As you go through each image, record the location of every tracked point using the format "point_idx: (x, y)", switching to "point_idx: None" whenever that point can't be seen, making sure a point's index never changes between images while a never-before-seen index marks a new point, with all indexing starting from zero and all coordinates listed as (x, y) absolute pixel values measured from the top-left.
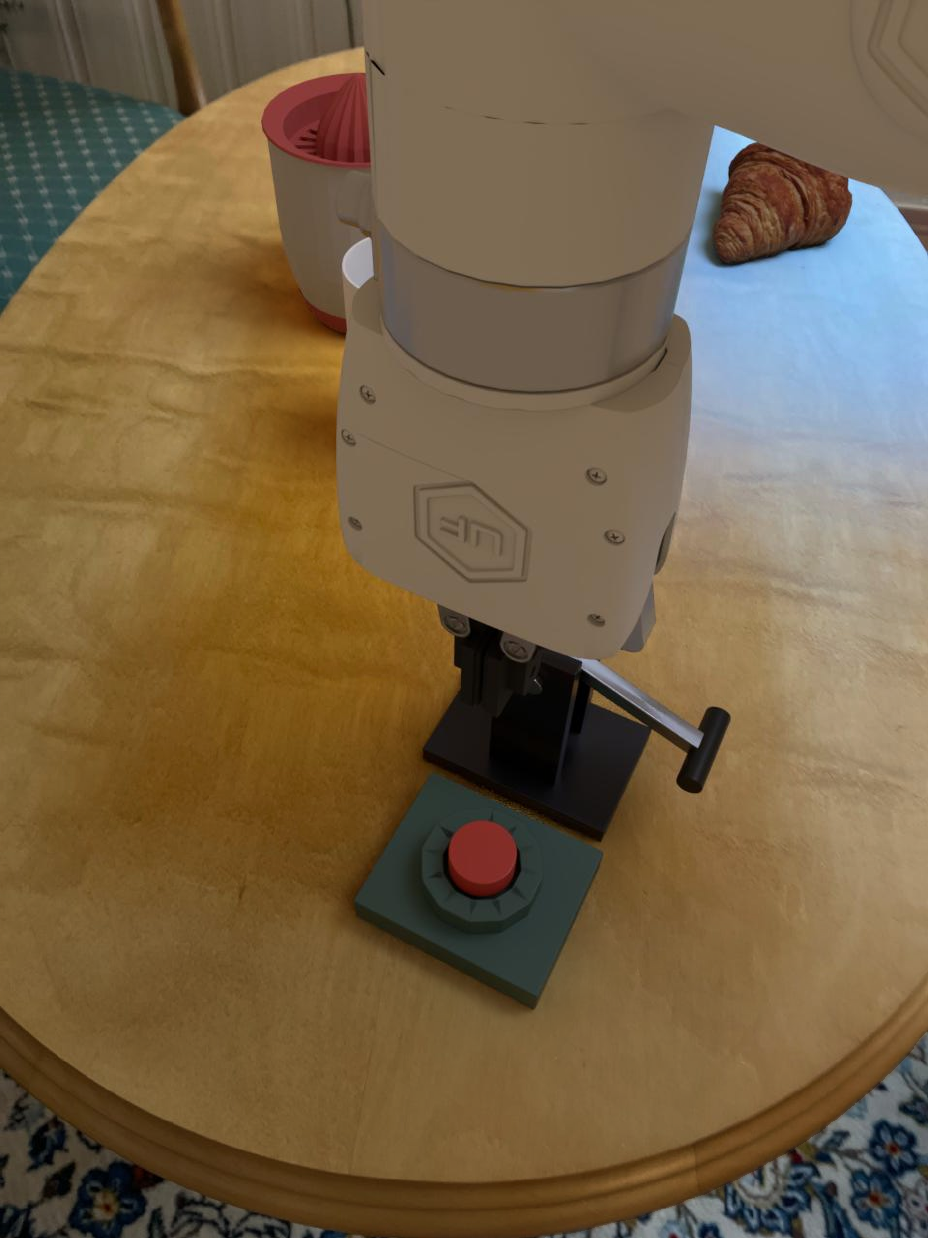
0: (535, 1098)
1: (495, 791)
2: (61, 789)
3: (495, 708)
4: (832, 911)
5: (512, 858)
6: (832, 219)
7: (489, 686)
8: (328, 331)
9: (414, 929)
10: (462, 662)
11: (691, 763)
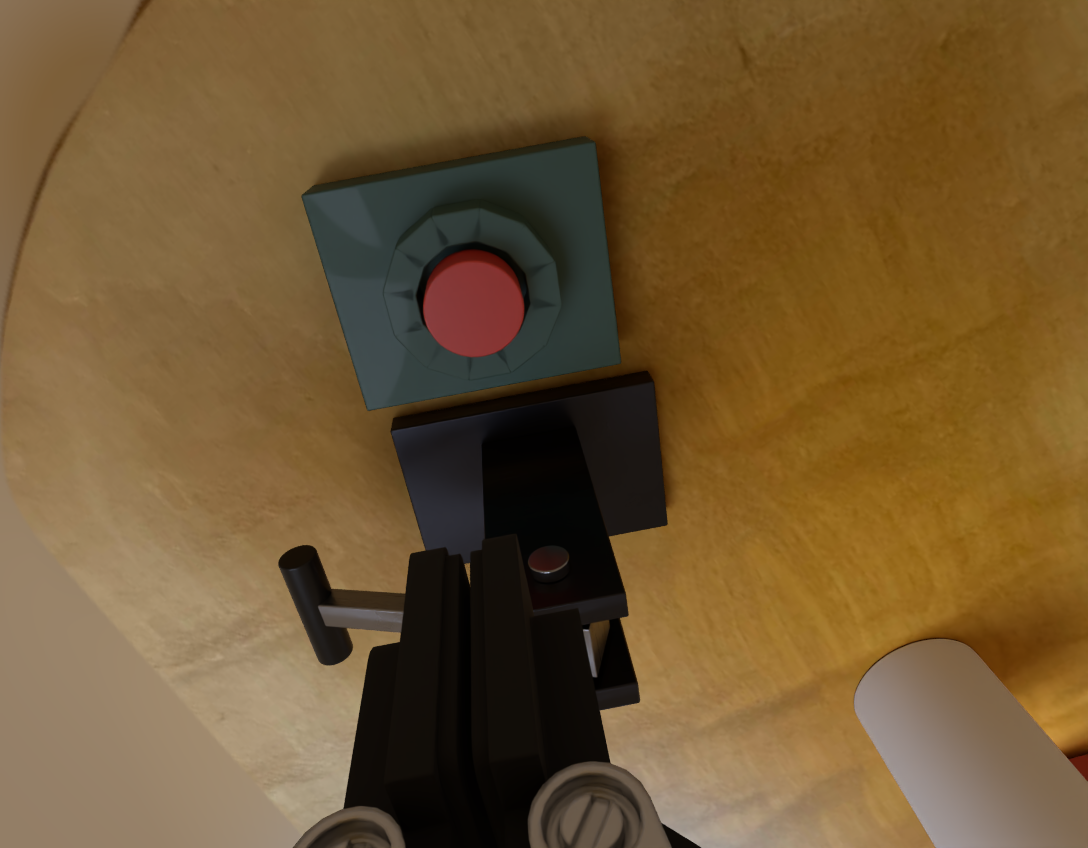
0: (231, 87)
1: (541, 392)
2: (1080, 4)
3: (411, 580)
4: (129, 510)
5: (433, 328)
6: None
7: (429, 642)
8: None
9: (497, 164)
10: (525, 672)
11: (309, 584)
